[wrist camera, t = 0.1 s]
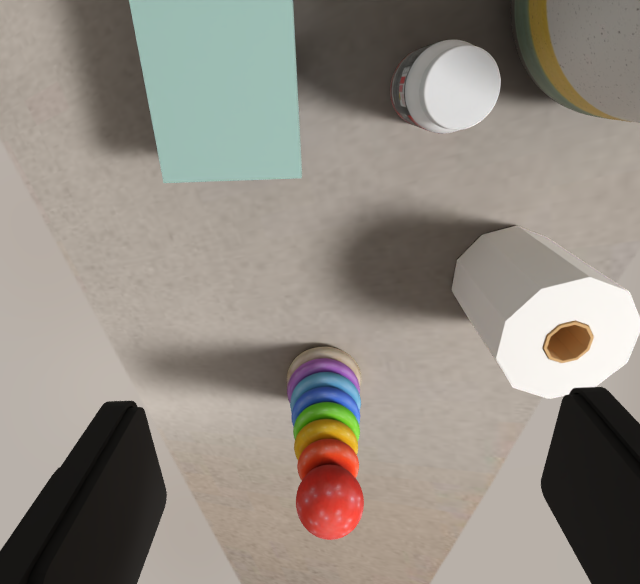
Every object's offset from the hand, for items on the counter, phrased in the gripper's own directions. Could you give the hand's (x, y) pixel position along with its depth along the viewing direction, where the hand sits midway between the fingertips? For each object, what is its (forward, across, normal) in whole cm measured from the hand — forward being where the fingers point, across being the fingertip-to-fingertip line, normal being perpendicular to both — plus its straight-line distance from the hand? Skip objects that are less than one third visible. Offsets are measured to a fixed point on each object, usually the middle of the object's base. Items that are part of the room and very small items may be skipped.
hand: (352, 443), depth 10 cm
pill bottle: (+31, -8, -7) cm, 33 cm away
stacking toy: (+31, +1, +21) cm, 38 cm away
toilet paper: (+31, -17, +10) cm, 37 cm away
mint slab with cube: (+25, +7, -11) cm, 28 cm away
